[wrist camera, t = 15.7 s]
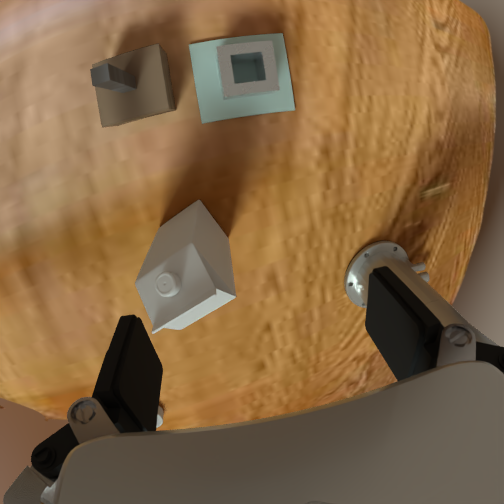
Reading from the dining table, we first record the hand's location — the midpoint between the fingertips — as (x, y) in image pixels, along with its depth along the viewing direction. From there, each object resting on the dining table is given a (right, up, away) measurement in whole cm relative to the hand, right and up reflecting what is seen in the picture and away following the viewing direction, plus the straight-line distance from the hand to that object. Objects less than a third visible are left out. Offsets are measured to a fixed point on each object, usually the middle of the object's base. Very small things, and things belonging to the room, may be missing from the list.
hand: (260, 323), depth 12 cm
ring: (-1, +25, +21) cm, 33 cm away
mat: (-2, +25, +22) cm, 33 cm away
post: (-14, +23, +21) cm, 35 cm away
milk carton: (-8, +5, +30) cm, 32 cm away
